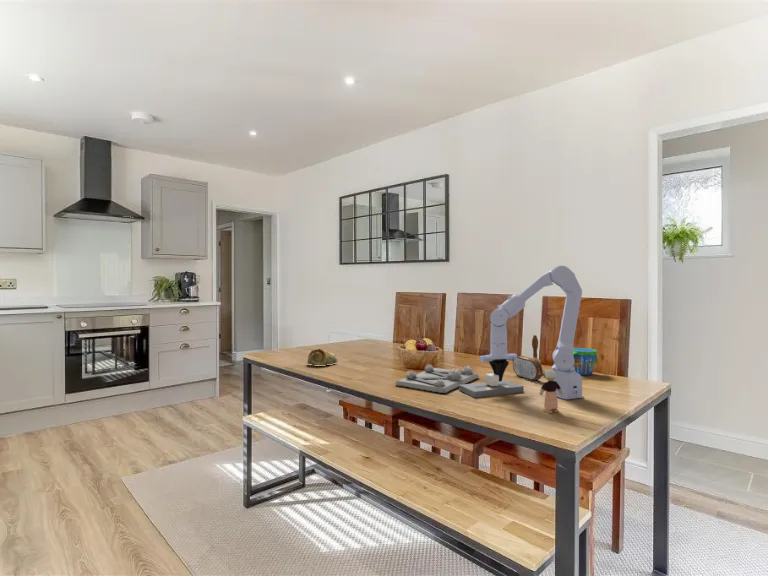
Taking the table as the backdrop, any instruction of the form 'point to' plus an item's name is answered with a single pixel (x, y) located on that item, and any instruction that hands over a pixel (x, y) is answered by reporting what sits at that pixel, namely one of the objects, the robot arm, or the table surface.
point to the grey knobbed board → (438, 379)
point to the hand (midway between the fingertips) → (498, 380)
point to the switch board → (491, 389)
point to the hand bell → (535, 346)
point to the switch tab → (492, 379)
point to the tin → (527, 368)
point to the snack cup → (584, 360)
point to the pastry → (321, 357)
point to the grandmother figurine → (550, 392)
